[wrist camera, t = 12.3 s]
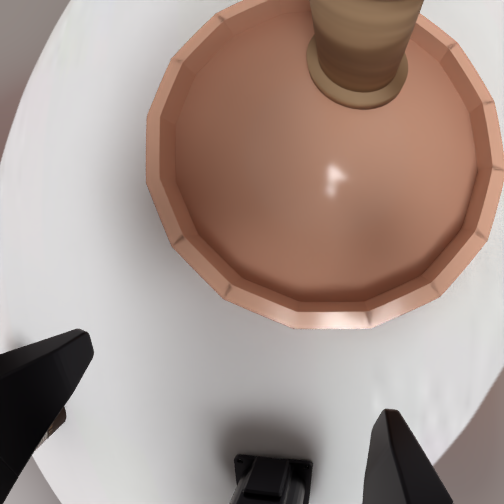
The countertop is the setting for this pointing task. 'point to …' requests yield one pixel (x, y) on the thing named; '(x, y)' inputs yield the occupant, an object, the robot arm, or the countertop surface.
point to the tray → (320, 172)
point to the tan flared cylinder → (361, 49)
